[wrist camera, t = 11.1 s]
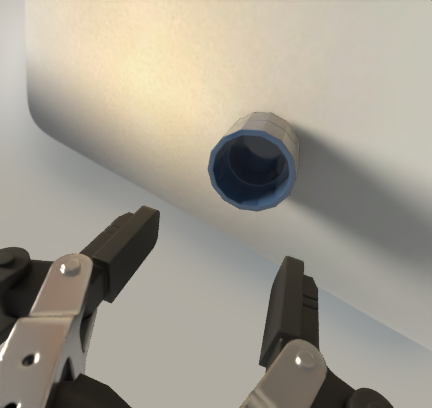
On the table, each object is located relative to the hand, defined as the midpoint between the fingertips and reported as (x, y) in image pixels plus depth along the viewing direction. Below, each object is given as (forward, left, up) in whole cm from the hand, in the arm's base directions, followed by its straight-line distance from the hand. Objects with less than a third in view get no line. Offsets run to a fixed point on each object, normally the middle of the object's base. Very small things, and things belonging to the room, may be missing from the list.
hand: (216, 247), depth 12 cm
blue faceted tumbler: (0, 0, -14) cm, 14 cm away
